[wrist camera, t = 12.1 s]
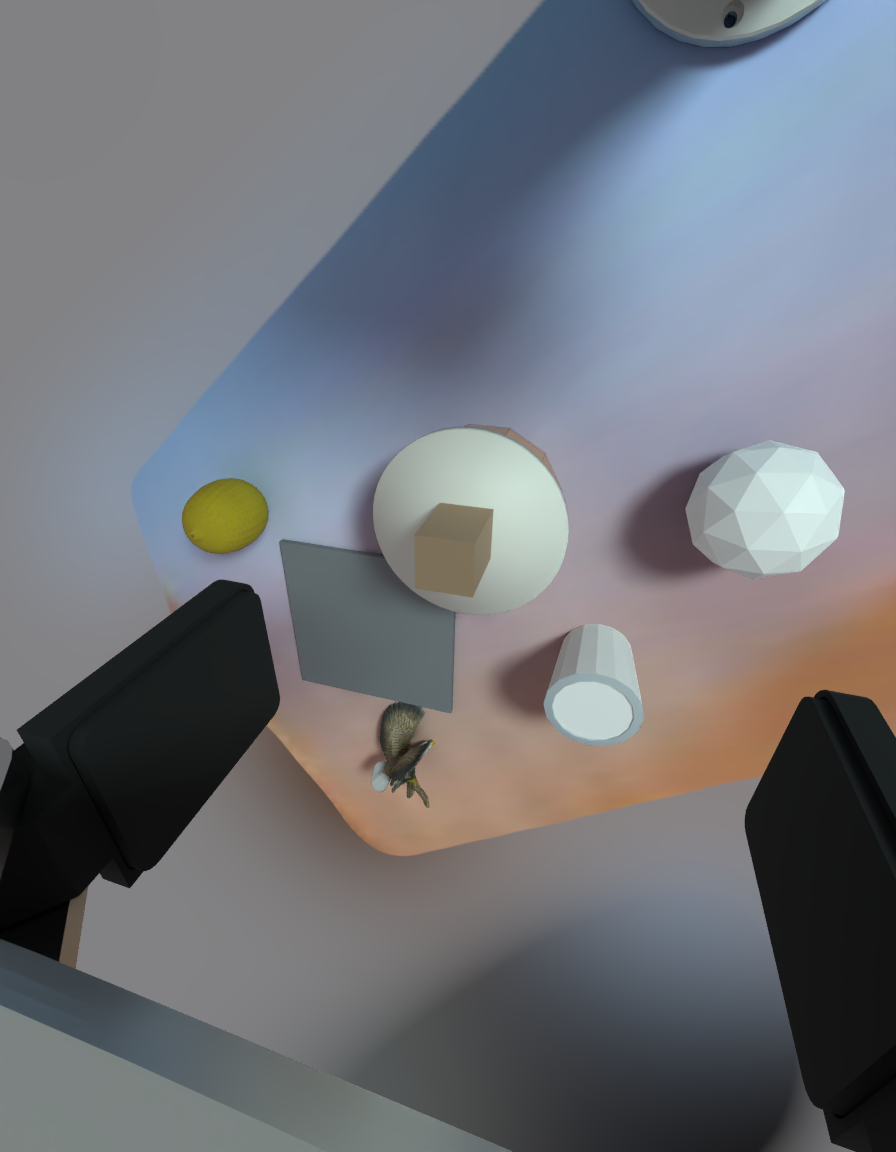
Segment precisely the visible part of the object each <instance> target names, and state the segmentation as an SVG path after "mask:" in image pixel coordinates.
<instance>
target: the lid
mask: <svg viewBox="0 0 896 1152" xmlns="http://www.w3.org/2000/svg"><path fill="white" fill-rule="evenodd" d="M373 522H374V529H375V534H376V537H377V541H378V544H379V546H380V549H381V551H382V553H383V555H384V557H385V559H386V561H387V563H388V564H389V565H390V567H391V568H392V570H393V571H394V573H395V574H396V575H397V576H398V577H399V578H400V579H401V581H402V582H403V583H405V584H406V585H407V586H408V587H409V588H410V589H411V590H412V591H414V592H415V593H416V594H418V595H419V596H421V597H422V598H424V599H426V600H427V601H429V602H431V603H433V604H435V605H437V606H439V607H442V608H445V609H448V610H451V611H455V612H459V613H463V614H472V615H489V614H498V613H502V612H506V611H510V610H513V609H515V608H518V607H520V606H522V605H524V604H526V603H528V602H530V601H531V600H532V599H534V598H535V597H537V596H538V595H539V594H540V593H541V592H542V591H543V590H545V589H546V588H547V587H548V585H549V584H550V583H551V581H552V580H553V579H554V578H555V576H556V574H557V572H558V571H559V569H560V567H561V564H562V562H563V559H564V556H565V552H566V547H567V543H568V535H569V519H568V511H567V507H566V502H565V499H564V497H563V494H562V491H561V489H560V487H559V485H558V483H557V481H556V479H555V478H554V476H553V475H552V473H551V472H550V470H549V469H548V468H547V466H546V465H545V464H544V463H543V462H542V461H541V460H540V459H539V458H538V457H537V456H536V455H535V454H534V453H533V452H531V451H530V450H529V449H528V448H526V447H525V446H524V445H522V444H520V443H519V442H517V441H515V440H514V439H512V438H510V437H507V436H505V435H503V434H501V433H498V432H494V431H491V430H487V429H482V428H476V427H452V428H445V429H441V430H437V431H434V432H431V433H429V434H426V435H424V436H422V437H420V438H418V439H417V440H415V441H413V442H412V443H410V444H409V445H408V446H406V447H405V448H404V449H403V450H402V451H401V452H399V453H398V454H397V455H396V456H395V457H394V458H393V460H392V461H391V462H390V463H389V464H388V466H387V467H386V469H385V471H384V472H383V474H382V476H381V478H380V480H379V483H378V485H377V489H376V492H375V496H374V504H373Z"/></svg>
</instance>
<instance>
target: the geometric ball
mask: <svg viewBox="0 0 896 1152" xmlns="http://www.w3.org/2000/svg"><path fill="white" fill-rule="evenodd" d="M844 492H845V490H844V488H843V487H842V485H841V484H840V482H839V481H838V480H837V478H836V477H835V475H834V474H833V473H832V471H831V470H830V469H829V467H828V466H827V465H826V463H825V462H824V461H823V460H822V458H821V457H820V456H819V454H818V453H817V452H815V451H811V450H807V449H803V448H799V447H795V446H791V445H787V444H783V443H779V442H775V441H771V440H768V441H765V442H762V443H759V444H756V445H753V446H750V447H747V448H744V449H741V450H738V451H735V452H732V453H729V454H726V455H724V456H722V457H721V458H720V459H718V460H717V461H716V462H714V463H713V464H712V465H710V466H709V467H708V468H706V469H705V470H704V471H702V472H701V473H700V474H699V477H698V479H697V482H696V484H695V486H694V489H693V491H692V494H691V496H690V499H689V501H688V504H687V506H686V509H685V510H686V514H687V519H688V524H689V529H690V534H691V538H692V543H693V545H694V546H695V547H696V548H697V549H698V550H700V551H701V552H702V553H703V554H704V555H705V556H706V557H707V558H708V559H709V560H711V561H712V562H713V563H715V564H717V565H719V566H720V567H723V568H725V569H728V570H730V571H733V572H735V573H738V574H740V575H743V576H745V577H748V578H751V579H757V578H763V577H769V576H775V575H781V574H788V573H794V572H800V571H802V570H803V569H804V568H805V567H806V566H807V565H808V564H809V563H810V562H812V561H813V560H814V559H815V558H816V557H817V556H818V555H819V554H820V553H821V552H823V551H824V550H825V549H826V548H827V547H828V546H829V545H830V544H831V543H832V542H833V541H835V540H836V539H837V538H838V534H839V527H840V520H841V513H842V506H843V499H844Z"/></svg>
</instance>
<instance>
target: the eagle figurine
mask: <svg viewBox="0 0 896 1152" xmlns="http://www.w3.org/2000/svg"><path fill="white" fill-rule="evenodd" d="M423 715H424V712H423V711H422V710H421V707H420V706H416V705H412V704H407V703H403V702H399V704H397V703H394V705H390V707H389V708H388V709H387V711H385V714H384V716H383V721H382V725H381V727H382V728H381V733H380V734H381V735H380V743H381V747H382V751H383V752H384V755H385V756H386V760H387V762H378V763H377V764H376V765H375V767H374V771H373V774H372V777H371V778H372V780H371V784H372V786H373V788H374V789H375V790H376V791H378V792H383V791H384V790H385V789H386V787H387V786H388V783H389V781H390V779H391V778H392V779H391V783H390V785H391V786H392V785H393V784H394V781H396V780H398V781H397V782H395V785H394V787H393V788H392V793H394V791H395V790H396V789H397V788H398V787H399V786H401V785H402V784H404V783H405V782H406V783H407V798H410V797H412V795H413V794H414V791H416V792H417V793H418V794H419V795H420V797H421V798H422V800H423V802H424V804H425V806H426V807H427V808H429V802H428V797H427V795H426V793H425V792H424V790H423V789H422V788H421V787H420V785H419V783H418V781H417V780H416V776H415V766H416V765H417V764H418V762H419V761H420V760H421V758H422V756H423V755H424V754H425V753H426V752H427V751H428V750H429V749H430V747H431V746H432V745H433V744H435V742H434V741H431V740H429V741H425V742H423V743H422V744H420V745H419V746H416V747H414V748H412V747H411V745H410V740H411V737H412V734H413V731H414V729H415V727H416V726H417V725H418V724H419V722H420V720H421V719H422V718H423Z"/></svg>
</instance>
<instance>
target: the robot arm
mask: <svg viewBox="0 0 896 1152" xmlns="http://www.w3.org/2000/svg"><path fill="white" fill-rule="evenodd" d="M632 1H633V3H634V4H635V6H636V8H637V9H638V10H639V11H640V12H641V13H642V14H643V15H644V16H645V17H646V18H647V19H648V20H649V21H650V22H651V23H652V24H653V25H654V26H655V27H656V28H657V29H659V30H660V31H662V32H664V33H666V34H667V35H669V36H671V37H673V38H674V39H676V40H678V41H681V42H685V43H689V44H693V45H697V46H701V47H732V46H736V45H740V44H744V43H748V42H752V41H756V40H760V39H762V38H765V37H767V36H769V35H771V34H773V33H775V32H777V31H779V30H782V29H784V28H786V27H788V26H790V25H792V24H794V23H795V22H797V21H798V20H799V19H801V18H802V17H804V16H805V15H807V14H808V13H810V12H811V11H813V10H814V9H816V8H817V7H818V6H820V5H821V4H823V3H824V2H825V1H826V0H632ZM730 15H732V16H734V18H735V24H734V26H733V27H731V28H726V27H725V25H724V19H725V18H726V17H727V16H730ZM279 702H280V695H279V690H278V685H277V680H276V675H275V670H274V665H273V660H272V655H271V650H270V645H269V640H268V635H267V630H266V625H265V620H264V615H263V610H262V605H261V600H260V597H259V596H258V595H257V594H255V593H254V590H253V588H252V587H251V586H250V585H248V584H244V583H238V582H233V581H227V580H217V581H215V582H213V583H212V584H211V585H209V586H208V587H207V588H205V589H204V590H203V591H201V592H200V593H199V594H197V595H196V596H195V597H193V598H192V599H191V600H189V601H188V602H187V603H185V604H184V605H183V606H181V607H180V608H179V609H177V610H176V611H175V612H173V613H172V614H171V615H169V616H168V617H167V618H165V619H164V620H163V621H161V622H160V623H159V624H157V625H156V626H155V627H153V628H152V629H151V630H149V631H148V632H147V633H145V634H144V635H143V636H141V637H140V638H139V639H137V640H136V641H135V642H133V643H132V644H131V645H129V646H128V647H127V648H125V649H124V650H123V651H121V652H120V653H119V654H117V655H116V656H115V657H113V658H112V659H111V660H109V661H108V662H107V663H105V664H104V665H103V666H101V667H100V668H99V669H97V670H96V671H95V672H93V673H92V674H91V675H89V676H88V677H87V678H85V679H84V680H83V681H81V682H80V683H79V684H77V685H76V686H75V687H73V688H72V689H71V690H69V691H68V692H67V693H65V694H64V695H63V696H61V697H60V698H59V699H57V700H56V701H55V702H53V703H52V704H51V705H49V706H48V707H47V708H45V709H44V710H43V711H41V712H40V713H39V714H37V715H36V716H35V717H33V718H32V719H31V720H29V721H28V722H27V723H25V724H24V725H23V726H22V727H20V728H19V729H17V731H18V733H19V735H20V737H21V738H22V740H23V742H24V743H23V744H22V745H21V746H19V747H18V748H17V749H16V750H13V748H12V747H11V745H10V744H9V742H8V741H7V740H5V739H3V738H0V1152H512V1151H509V1150H507V1149H505V1148H503V1147H500V1146H498V1145H496V1144H493V1143H491V1142H489V1141H486V1140H484V1139H481V1138H479V1137H477V1136H474V1135H472V1134H470V1133H467V1132H465V1131H463V1130H460V1129H458V1128H455V1127H453V1126H451V1125H448V1124H446V1123H444V1122H441V1121H439V1120H437V1119H434V1118H432V1117H429V1116H427V1115H425V1114H422V1113H420V1112H418V1111H415V1110H413V1109H410V1108H408V1107H406V1106H403V1105H401V1104H398V1103H396V1102H394V1101H391V1100H389V1099H387V1098H384V1097H382V1096H379V1095H377V1094H375V1093H372V1092H370V1091H367V1090H365V1089H363V1088H360V1087H358V1086H356V1085H353V1084H351V1083H348V1082H346V1081H344V1080H341V1079H339V1078H336V1077H334V1076H332V1075H329V1074H327V1073H325V1072H322V1071H320V1070H318V1069H315V1068H313V1067H310V1066H308V1065H305V1064H303V1063H301V1062H298V1061H296V1060H294V1059H291V1058H289V1057H286V1056H284V1055H282V1054H279V1053H277V1052H274V1051H272V1050H270V1049H267V1048H265V1047H263V1046H260V1045H258V1044H255V1043H253V1042H251V1041H248V1040H246V1039H243V1038H241V1037H239V1036H236V1035H234V1034H232V1033H229V1032H227V1031H224V1030H222V1029H220V1028H217V1027H215V1026H212V1025H210V1024H208V1023H205V1022H203V1021H200V1020H198V1019H195V1018H193V1017H191V1016H188V1015H185V1014H184V1013H181V1012H178V1011H176V1010H174V1009H171V1008H169V1007H167V1006H164V1005H161V1004H159V1003H157V1002H154V1001H152V1000H150V999H147V998H145V997H142V996H140V995H137V994H135V993H133V992H130V991H128V990H125V989H123V988H121V987H118V986H116V985H113V984H111V983H108V982H106V981H103V980H101V979H99V978H96V977H94V976H91V975H89V974H87V973H84V972H82V971H79V970H77V969H76V962H77V955H78V949H79V942H80V936H81V929H82V922H83V916H84V910H85V903H86V897H87V890H88V885H89V884H90V883H91V882H92V881H93V880H94V879H95V877H96V876H97V875H98V874H99V873H100V874H101V875H102V878H103V879H105V880H108V881H111V882H114V883H116V884H119V885H122V886H125V887H128V888H130V887H131V886H132V885H133V884H134V882H135V881H136V880H137V879H138V877H139V876H140V875H141V873H142V872H143V871H147V870H150V869H151V868H153V867H154V866H155V865H156V864H157V863H158V862H159V861H160V860H161V858H162V857H163V856H164V854H165V853H166V852H167V851H168V849H169V848H170V847H171V845H172V844H173V843H174V841H176V839H177V837H179V835H180V834H181V833H182V831H183V830H184V829H185V828H186V827H187V825H188V824H189V823H190V822H191V820H192V819H193V818H194V816H195V815H196V814H197V813H198V811H199V810H200V809H201V807H202V806H203V805H204V804H205V802H206V801H207V800H208V798H209V797H210V796H211V795H212V794H213V792H214V791H215V790H216V788H217V787H218V786H219V785H220V783H221V782H222V781H223V780H224V778H225V777H226V776H227V775H228V773H229V772H230V771H231V770H232V768H233V767H234V766H235V764H236V763H237V762H238V761H239V759H240V758H241V757H242V755H243V754H244V753H245V752H246V750H247V749H248V748H249V747H250V745H251V744H252V743H253V742H254V740H255V739H256V738H257V736H258V735H259V734H260V733H261V731H262V730H263V729H264V727H265V726H266V725H267V724H268V723H269V721H270V720H271V719H272V718H273V716H274V715H275V713H276V711H277V709H278V706H279ZM745 831H746V836H747V840H748V845H749V849H750V853H751V857H752V862H753V866H754V870H755V875H756V879H757V883H758V888H759V892H760V896H761V900H762V905H763V909H764V914H765V918H766V922H767V927H768V931H769V935H770V940H771V944H772V948H773V953H774V957H775V961H776V966H777V970H778V974H779V979H780V982H781V987H782V992H783V996H784V1000H785V1004H786V1008H787V1013H788V1017H789V1021H790V1026H791V1030H792V1035H793V1039H794V1043H795V1048H796V1052H797V1056H798V1061H799V1065H800V1069H801V1074H802V1078H803V1082H804V1085H805V1089H806V1092H807V1094H808V1096H809V1098H810V1100H811V1102H812V1103H813V1104H814V1105H815V1106H816V1107H818V1108H820V1109H823V1111H824V1115H825V1119H826V1123H827V1127H828V1131H829V1135H830V1140H831V1143H833V1144H836V1145H839V1146H842V1147H844V1148H847V1149H850V1150H853V1151H855V1152H896V737H895V736H894V734H893V732H892V731H891V729H890V728H889V726H888V724H887V723H886V721H885V719H884V718H883V716H882V714H881V713H880V711H879V709H878V708H877V706H876V705H875V704H874V702H873V701H872V700H870V699H868V698H866V697H861V696H855V695H850V694H844V693H839V692H833V691H828V690H821V691H819V692H818V693H817V694H816V695H815V696H814V698H813V697H804V698H803V699H802V700H801V701H800V703H799V705H798V707H797V709H796V711H795V713H794V715H793V717H792V719H791V721H790V723H789V725H788V727H787V729H786V731H785V733H784V735H783V737H782V739H781V741H780V743H779V745H778V747H777V749H776V751H775V753H774V755H773V757H772V759H771V761H770V763H769V765H768V767H767V769H766V771H765V773H764V775H763V776H762V778H761V781H760V783H759V785H758V787H757V788H756V790H755V792H754V795H753V796H752V799H751V800H750V803H749V804H748V807H747V809H746V814H745Z"/></svg>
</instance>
